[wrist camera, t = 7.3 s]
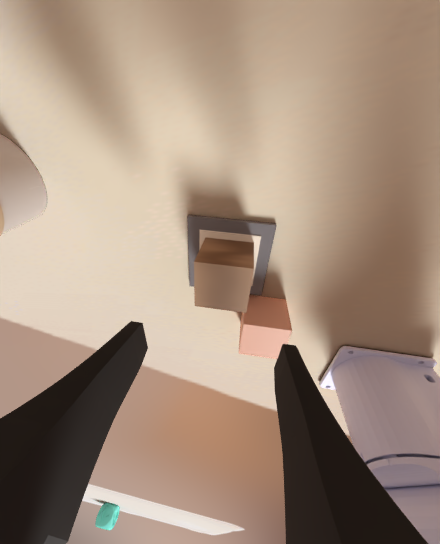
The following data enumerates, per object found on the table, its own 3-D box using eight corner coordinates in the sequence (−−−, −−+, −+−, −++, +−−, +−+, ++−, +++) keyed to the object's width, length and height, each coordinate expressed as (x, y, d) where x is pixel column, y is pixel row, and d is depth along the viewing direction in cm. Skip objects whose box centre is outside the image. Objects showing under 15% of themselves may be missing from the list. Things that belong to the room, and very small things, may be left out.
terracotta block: (285, 298, 20) (292, 330, 17) (277, 326, 23) (281, 359, 19) (244, 293, 21) (243, 324, 17) (240, 321, 23) (238, 353, 20)
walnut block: (253, 242, 17) (253, 268, 14) (247, 282, 19) (246, 312, 16) (205, 237, 17) (194, 261, 14) (204, 276, 19) (194, 305, 16)
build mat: (275, 223, 16) (276, 225, 16) (261, 292, 20) (261, 295, 20) (188, 214, 17) (187, 216, 16) (190, 283, 21) (189, 286, 20)
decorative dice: (116, 504, 108) (108, 528, 102) (121, 507, 113) (113, 531, 106) (102, 501, 109) (93, 525, 103) (107, 505, 114) (98, 527, 107)
